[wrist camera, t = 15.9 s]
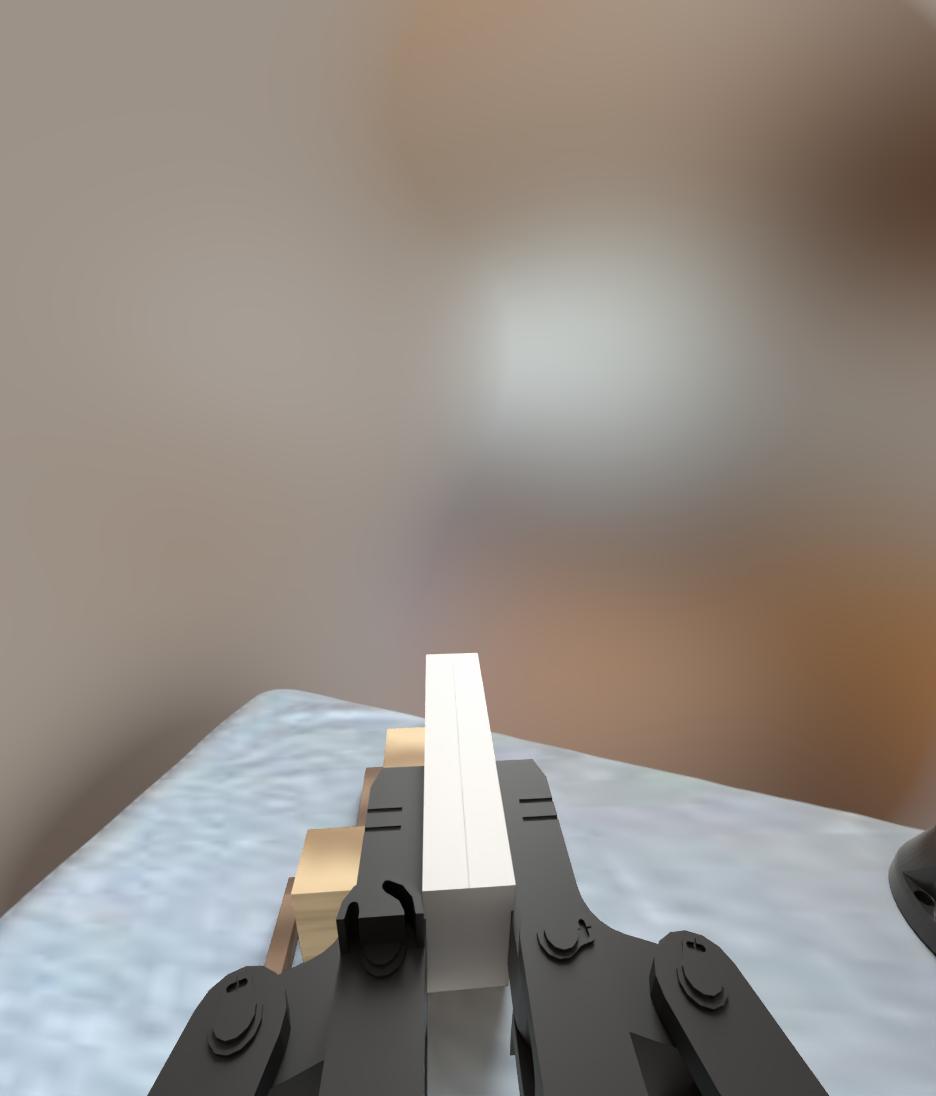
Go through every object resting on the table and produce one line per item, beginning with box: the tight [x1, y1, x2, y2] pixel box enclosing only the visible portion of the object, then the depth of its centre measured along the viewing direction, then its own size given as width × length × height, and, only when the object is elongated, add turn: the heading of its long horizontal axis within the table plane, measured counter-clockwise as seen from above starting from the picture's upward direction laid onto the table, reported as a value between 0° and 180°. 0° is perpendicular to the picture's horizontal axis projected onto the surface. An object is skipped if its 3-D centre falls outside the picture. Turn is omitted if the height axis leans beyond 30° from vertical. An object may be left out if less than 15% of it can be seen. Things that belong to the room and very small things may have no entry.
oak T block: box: [291, 727, 425, 963], centre depth 43 cm, size 16×16×12 cm
